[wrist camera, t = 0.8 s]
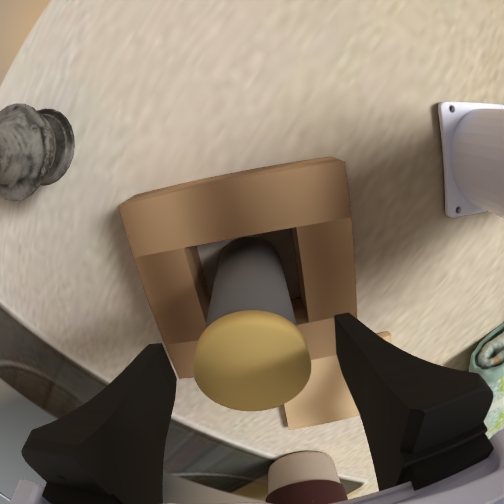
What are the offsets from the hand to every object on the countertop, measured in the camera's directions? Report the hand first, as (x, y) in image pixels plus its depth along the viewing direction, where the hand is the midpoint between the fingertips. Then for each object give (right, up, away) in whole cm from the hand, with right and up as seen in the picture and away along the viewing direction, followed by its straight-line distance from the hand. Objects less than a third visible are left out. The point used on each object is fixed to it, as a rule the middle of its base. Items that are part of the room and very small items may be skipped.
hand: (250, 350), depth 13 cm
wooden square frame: (0, +3, +8) cm, 9 cm away
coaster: (+7, -7, +12) cm, 16 cm away
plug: (0, +3, +8) cm, 9 cm away
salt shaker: (-14, +11, +5) cm, 18 cm away
